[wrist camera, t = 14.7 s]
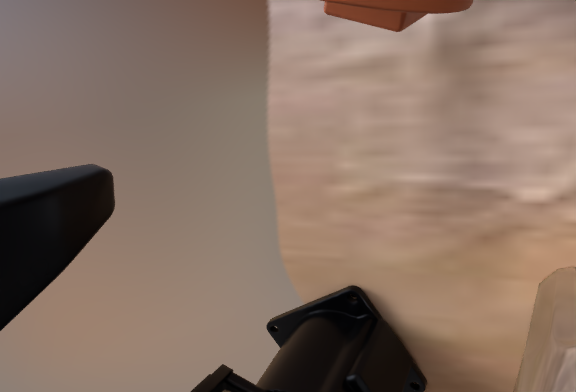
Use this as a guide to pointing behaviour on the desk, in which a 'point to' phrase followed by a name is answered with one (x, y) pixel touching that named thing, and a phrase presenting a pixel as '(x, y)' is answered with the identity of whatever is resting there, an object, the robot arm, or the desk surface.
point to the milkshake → (551, 337)
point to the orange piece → (391, 11)
